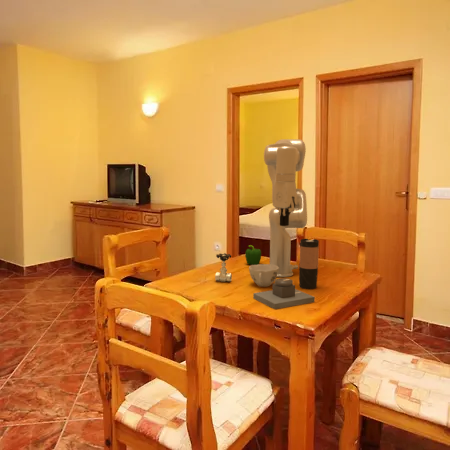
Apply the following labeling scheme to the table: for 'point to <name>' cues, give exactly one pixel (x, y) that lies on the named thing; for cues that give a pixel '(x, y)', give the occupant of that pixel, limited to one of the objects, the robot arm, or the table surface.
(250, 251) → the bell pepper
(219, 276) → the valve
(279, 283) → the knob
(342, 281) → the table surface
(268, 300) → the hub plate
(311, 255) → the travel mug
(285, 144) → the robot arm
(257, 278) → the teacup
